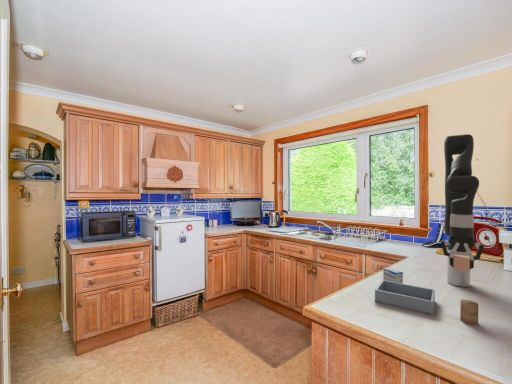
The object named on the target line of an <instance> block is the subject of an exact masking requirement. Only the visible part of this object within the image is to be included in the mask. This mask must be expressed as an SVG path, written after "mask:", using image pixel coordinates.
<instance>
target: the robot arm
mask: <svg viewBox="0 0 512 384" xmlns="http://www.w3.org/2000/svg"><path fill="white" fill-rule="evenodd" d="M474 144H475V143H474V137H473V135H471V134H457V135H456V134H454V135H449V136H446V137H445V138H444V141H443V151H444V152H443V154H444V163H445V164H444V165H445V166H444V167H445V173H444V174H445V175H444V197H445V199H444V202H445V206H444V207H445V208H444V209H445V211H444V221H443V222H444V225H443V230H444V234H445V235H446V236H448V237H449V238H448V239H446V240H443V239H442V240H440V244H441V247H442V248H441V249H442V252H443V255H444V256H447V263H446V264H447V275H446V276H447V278H446V279H447V280H446V281H447V283H448V284H449V285H453V286H456V287H461V288H470V287H471V270H472V269H474V268H475V267H474V265H475V260H480V259H481V256H482V253H483V251H484V248H485V245H484V244H483V243H478V242H475V239H474V234H475V233H474V230H475V227H474V226H475V221H474V219H475V218H474V201H475V198H476V197H475V196H476V194H477V192H478V189H479V186H480V180H479V178H478V177H477V176H475V175H473V167H472V160H473V155H474V146H475V145H474ZM455 155H457V156H456V157H455V158H453V156H455ZM474 246H475V249H477V250H476V253H475V255H473V254H472V251H471V249H472V248H473V247H474ZM454 255H463V256H469V258H470V272H468V271H461V270H454Z"/></svg>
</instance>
